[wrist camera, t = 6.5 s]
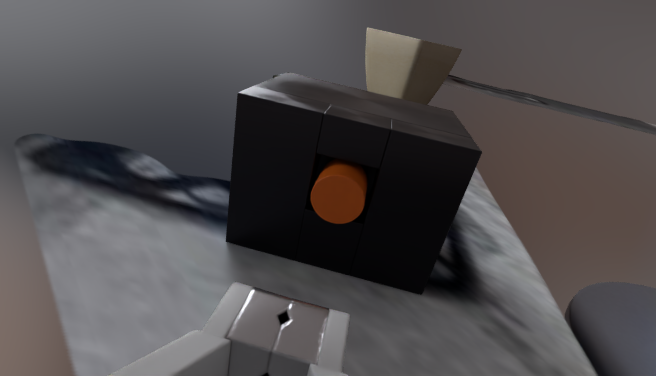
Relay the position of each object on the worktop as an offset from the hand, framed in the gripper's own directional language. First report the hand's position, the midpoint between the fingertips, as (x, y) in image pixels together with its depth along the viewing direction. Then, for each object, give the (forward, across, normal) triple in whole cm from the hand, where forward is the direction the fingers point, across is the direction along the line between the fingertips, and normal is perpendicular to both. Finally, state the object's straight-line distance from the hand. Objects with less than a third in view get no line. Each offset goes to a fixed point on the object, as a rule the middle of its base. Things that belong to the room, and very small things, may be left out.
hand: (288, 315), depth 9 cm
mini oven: (+21, 0, +11) cm, 24 cm away
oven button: (+15, 0, +5) cm, 16 cm away
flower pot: (+96, -7, +10) cm, 97 cm away
